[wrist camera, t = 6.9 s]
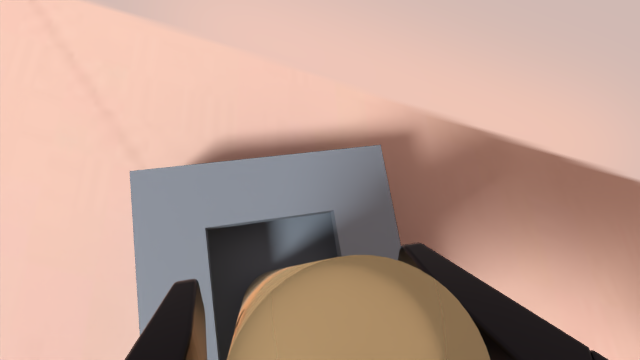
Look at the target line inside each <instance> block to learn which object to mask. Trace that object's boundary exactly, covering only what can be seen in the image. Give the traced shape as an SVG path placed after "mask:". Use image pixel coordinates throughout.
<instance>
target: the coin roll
mask: <svg viewBox="0 0 640 360" xmlns="http://www.w3.org/2000/svg"><path fill="white" fill-rule="evenodd" d="M227 360H490V357H489V354H488V351H487V348H486V345H485V343H484V341H483V339H482V336H481V334H480V332H479V330H478V328H477V327H476V325H475V323H474V322H473V320H472V318H471V317H470V315H469V314H468V312H467V311H466V310H465V308H464V307H463V306H462V305H461V303H460V302H459V301H458V300H457V298H456V297H455V296H454V295H453V294H452V293H451V292H450V291H449V290H448V289H447V288H446V287H444V286H443V285H442V284H440V283H439V282H438V281H437V280H435V279H434V278H433V277H431V276H430V275H428V274H426V273H425V272H423V271H421V270H420V269H418V268H416V267H413V266H411V265H409V264H406V263H404V262H402V261H398V260H394V259H391V258H387V257H381V256H374V255H349V256H341V257H335V258H330V259H325V260H320V261H315V262H311V263H306V264H301V265H296V266H291V267H286V268H281V269H277V270H272V271H268V272H266V273H264V274H262V275H260V276H259V277H257V278H256V279H255V280H254V281H253V282H252V283H251V284H250V285H249V287H248V288H247V290H246V292H245V294H244V297H243V300H242V304H241V308H240V311H239V315H238V319H237V323H236V327H235V330H234V334H233V338H232V342H231V345H230V349H229V353H228V357H227Z"/></svg>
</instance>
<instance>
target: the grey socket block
mask: <svg viewBox="0 0 640 360" xmlns="http://www.w3.org/2000/svg"><path fill="white" fill-rule="evenodd" d="M130 184H131V200H132V216H133V232H134V248H135V264H136V280H137V296H138V312H139V329H140V335H141V333H142V332H143V330H144V329H145V327H146V326H147V324H148V322H149V321H150V319H151V318H152V316H153V315H154V313H155V312H156V310H157V308H158V307H159V305H160V304H161V302H162V301H163V299H164V298H165V296H166V294H167V293H168V291H169V290H170V288H171V287H172V285H173V284H174V283H175V282H177V281H182V280H188V279H196V280H197V281H198V282H199V286H200V291H201V295H202V300H203V304H204V309H205V319H206V343H207V360H227V357H228V353H229V349H230V345H231V342H232V338H233V334H234V330H235V327H236V323H237V319H238V315H239V311H240V308H241V304H242V300H243V297H244V294H245V292H246V290H247V288H248V287H249V285H250V284H251V283H252V282H253V281H254V280H255V279H256V278H257V277H259V276H260V275H262V274H264V273H266V272H268V271H272V270H277V269H281V268H286V267H291V266H296V265H301V264H306V263H311V262H315V261H320V260H325V259H330V258H335V257H341V256H349V255H374V256H381V257H387V258H391V259H394V260H398V256H399V250H400V248H401V244H400V239H399V234H398V229H397V224H396V219H395V214H394V209H393V204H392V199H391V194H390V189H389V184H388V179H387V174H386V169H385V164H384V160H383V155H382V150H381V145H374V146H365V147H355V148H346V149H336V150H327V151H317V152H308V153H298V154H289V155H279V156H270V157H260V158H251V159H242V160H232V161H223V162H213V163H204V164H194V165H185V166H175V167H166V168H156V169H147V170H137V171H130Z"/></svg>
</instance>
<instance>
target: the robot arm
mask: <svg viewBox="0 0 640 360" xmlns="http://www.w3.org/2000/svg"><path fill="white" fill-rule="evenodd" d="M398 261H402V262H404V263H406V264H409V265H411V266H413V267H416V268H418V269H420V270H421V271H423V272H425V273H426V274H428V275H430V276H431V277H433V278H434V279H435V280H437V281H438V282H439V283H440V284H442V285H443V286H444V287H446V288H447V289H448V290H449V291H450V292H451V293H452V294H453V295H454V296H455V297H456V298H457V300H458V301H459V302H460V303H461V305H462V306H463V307H464V308H465V310H466V311H467V312H468V314H469V315H470V317H471V318H472V320H473V322H474V323H475V325H476V327H477V328H478V330H479V332H480V334H481V336H482V339H483V341H484V343H485V345H486V348H487V351H488V354H489V357H490V360H608V359H607V358H605V357H603V356H602V355H600V354H599V353H597V352H595V351H593V350H591V351H590V350H589V348H588V347H587V346H585V345H584V344H582V343H581V342H579V341H577V340H576V339H574V338H573V337H571V336H569V335H568V334H566V333H565V332H563V331H561V330H560V329H558V328H557V327H555V326H553V325H552V324H550V323H549V322H547V321H545V320H544V319H542V318H541V317H539V316H537V315H536V314H534V313H533V312H531V311H529V310H528V309H526V308H525V307H523V306H521V305H520V304H518V303H517V302H515V301H513V300H512V299H510V298H509V297H507V296H505V295H504V294H502V293H501V292H499V291H497V290H496V289H494V288H492V287H491V286H489V285H488V284H486V283H484V282H483V281H481V280H480V279H478V278H476V277H475V276H473V275H472V274H470V273H468V272H467V271H465V270H464V269H462V268H460V267H459V266H457V265H456V264H454V263H452V262H451V261H449V260H448V259H446V258H444V257H443V256H441V255H440V254H438V253H436V252H435V251H433V250H432V249H430V248H428V247H427V246H425V245H424V244H422V243H411V244H405V245H402V246H401V248H400V250H399V256H398ZM125 360H207V343H206V319H205V309H204V304H203V300H202V295H201V291H200V286H199V282H198V281H197V280H196V279H188V280H182V281H177V282H175V283H174V284H173V285H172V287H171V288H170V290H169V291H168V293H167V294H166V296H165V298H164V299H163V301H162V302H161V304H160V305H159V307H158V308H157V310H156V312H155V313H154V315H153V316H152V318H151V319H150V321H149V322H148V324H147V326H146V327H145V329H144V330H143V332H142V333H141V335H140V337H139V338H138V340H137V341H136V343H135V344H134V346H133V347H132V349H131V351H130V352H129V354H128V355H127V357H126V358H125Z"/></svg>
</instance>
